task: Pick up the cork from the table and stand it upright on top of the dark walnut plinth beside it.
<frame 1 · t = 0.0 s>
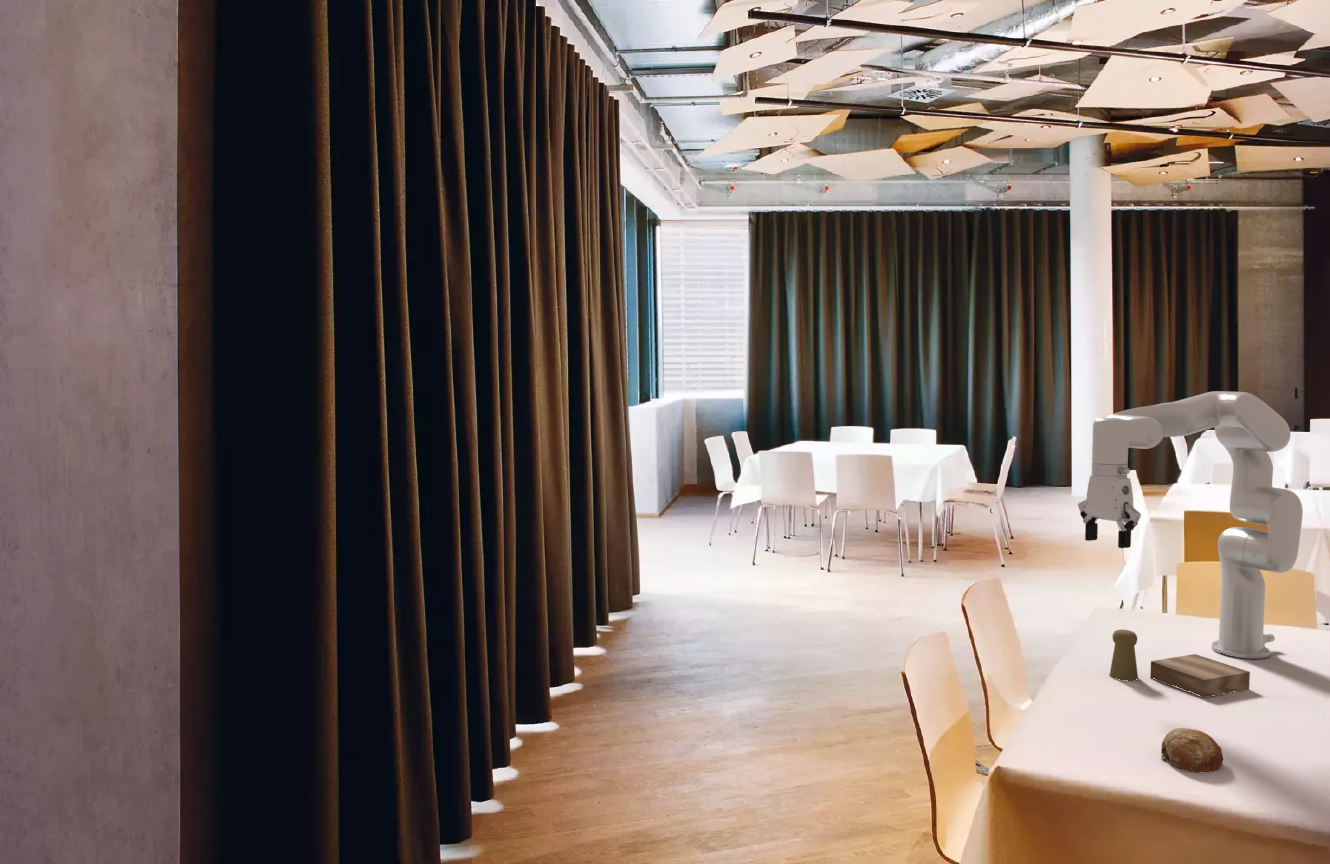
hand: (1107, 543, 222), 31 cm above the table, tool pointing down, fingers open, 9 cm apart
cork: (1123, 677, 223), on the table
bread roll: (1191, 763, 177), on the table
walnut plinth: (1198, 683, 218), on the table
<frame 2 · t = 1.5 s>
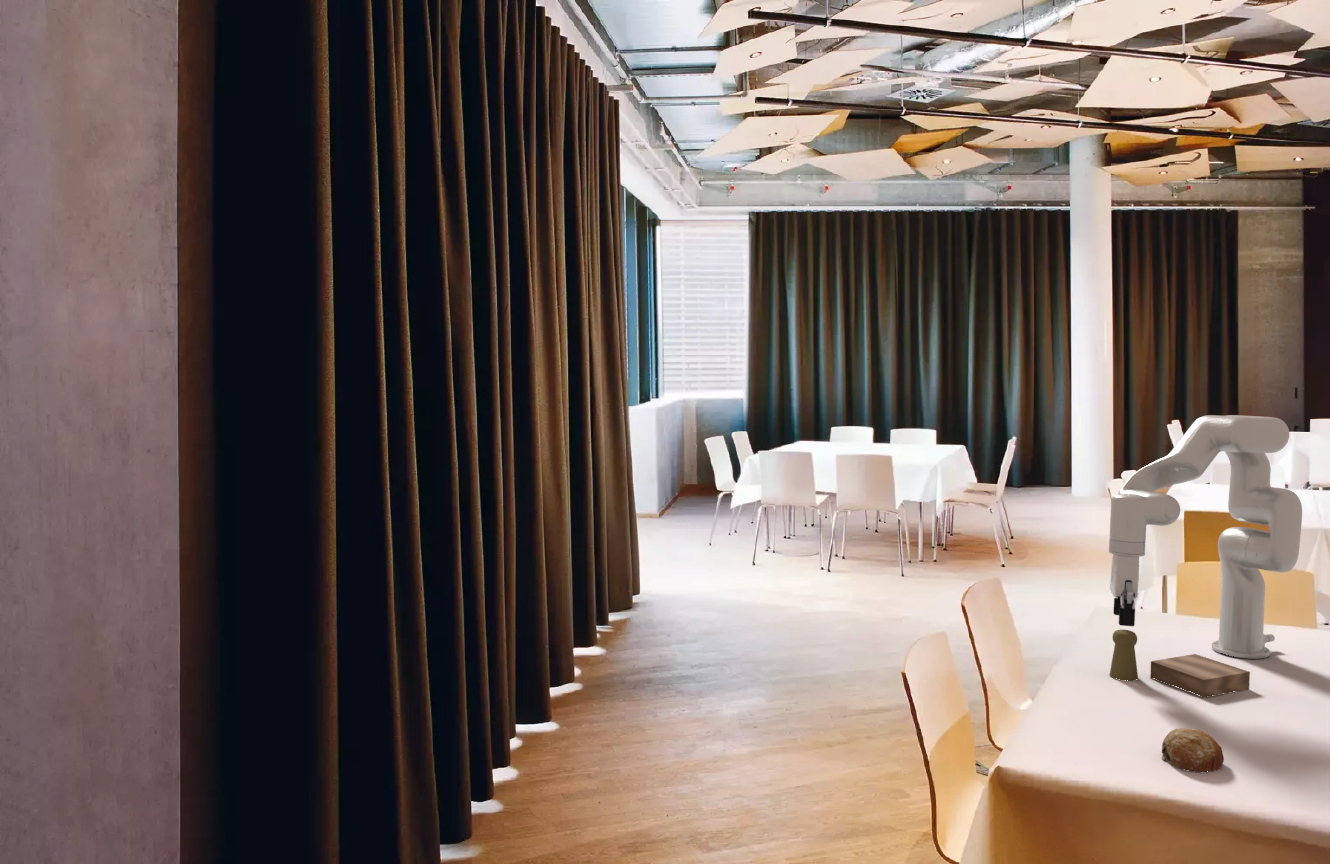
hand: (1123, 620, 222), 14 cm above the table, tool pointing down, fingers open, 9 cm apart
nothing on the table moved.
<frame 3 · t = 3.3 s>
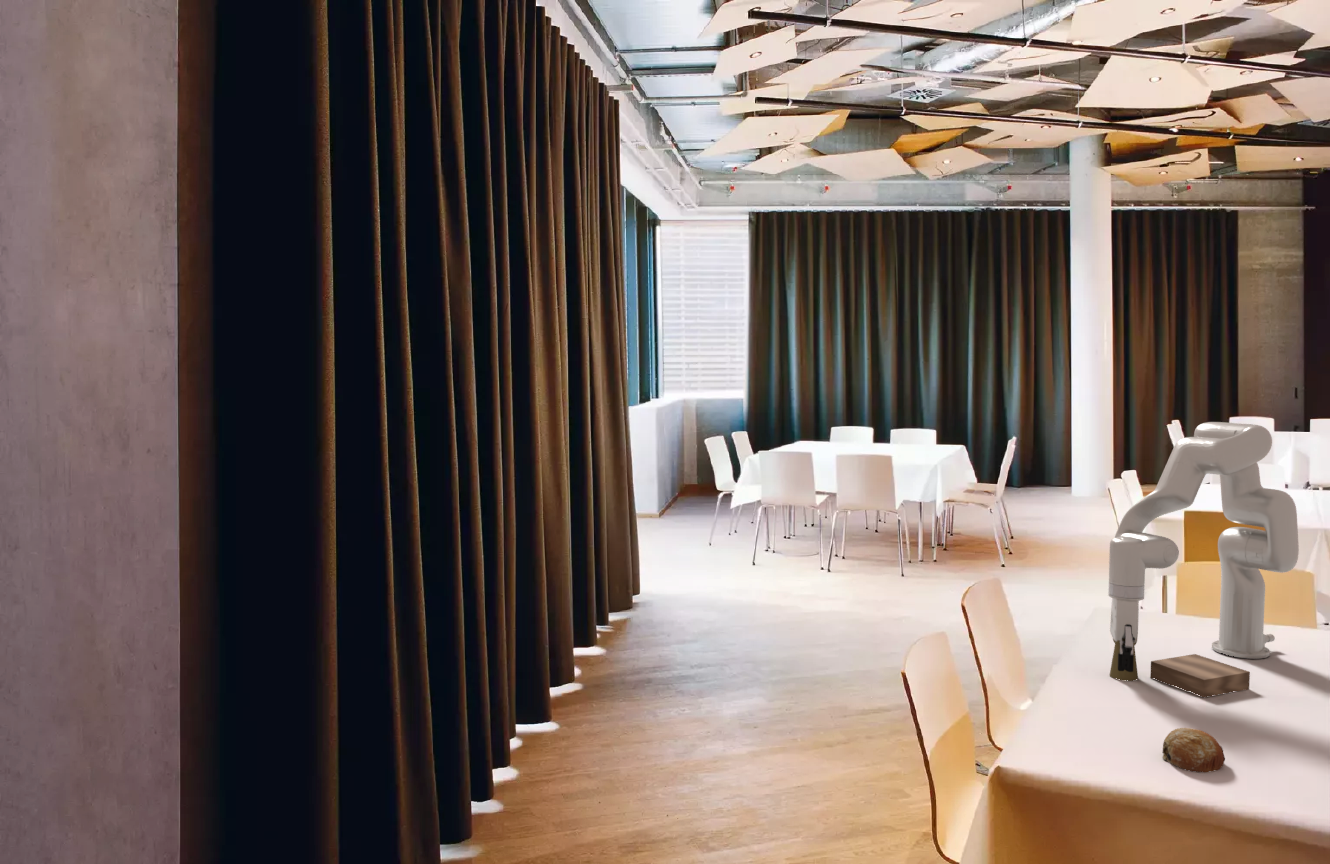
hand: (1124, 667, 223), 2 cm above the table, tool pointing down, fingers closed on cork, 4 cm apart
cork: (1123, 677, 223), on the table, touching gripper
everything else where it was.
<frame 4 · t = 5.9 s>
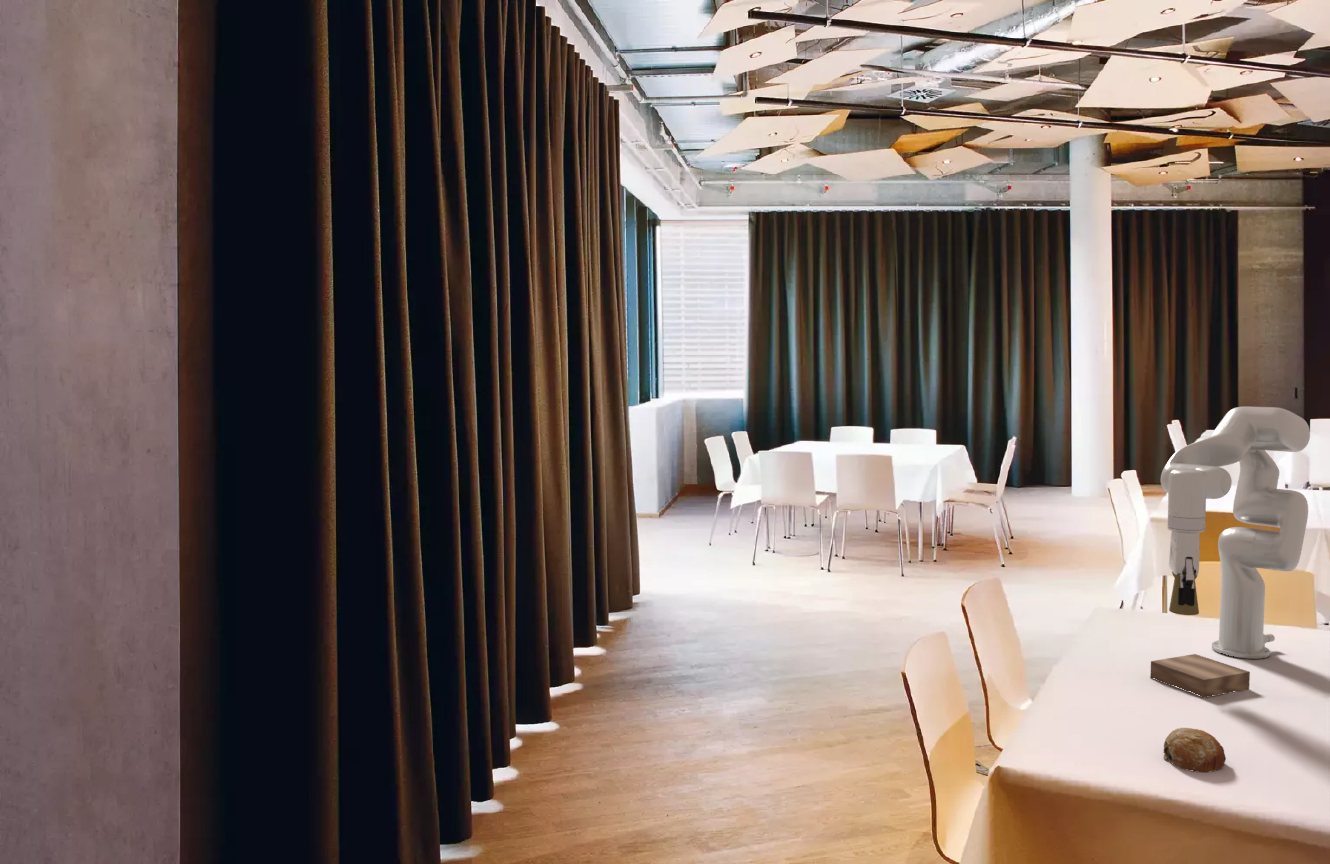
hand: (1184, 601, 218), 19 cm above the table, tool pointing down, fingers closed on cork, 4 cm apart
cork: (1183, 612, 218), point 16 cm above the table, touching gripper
everything else where it was.
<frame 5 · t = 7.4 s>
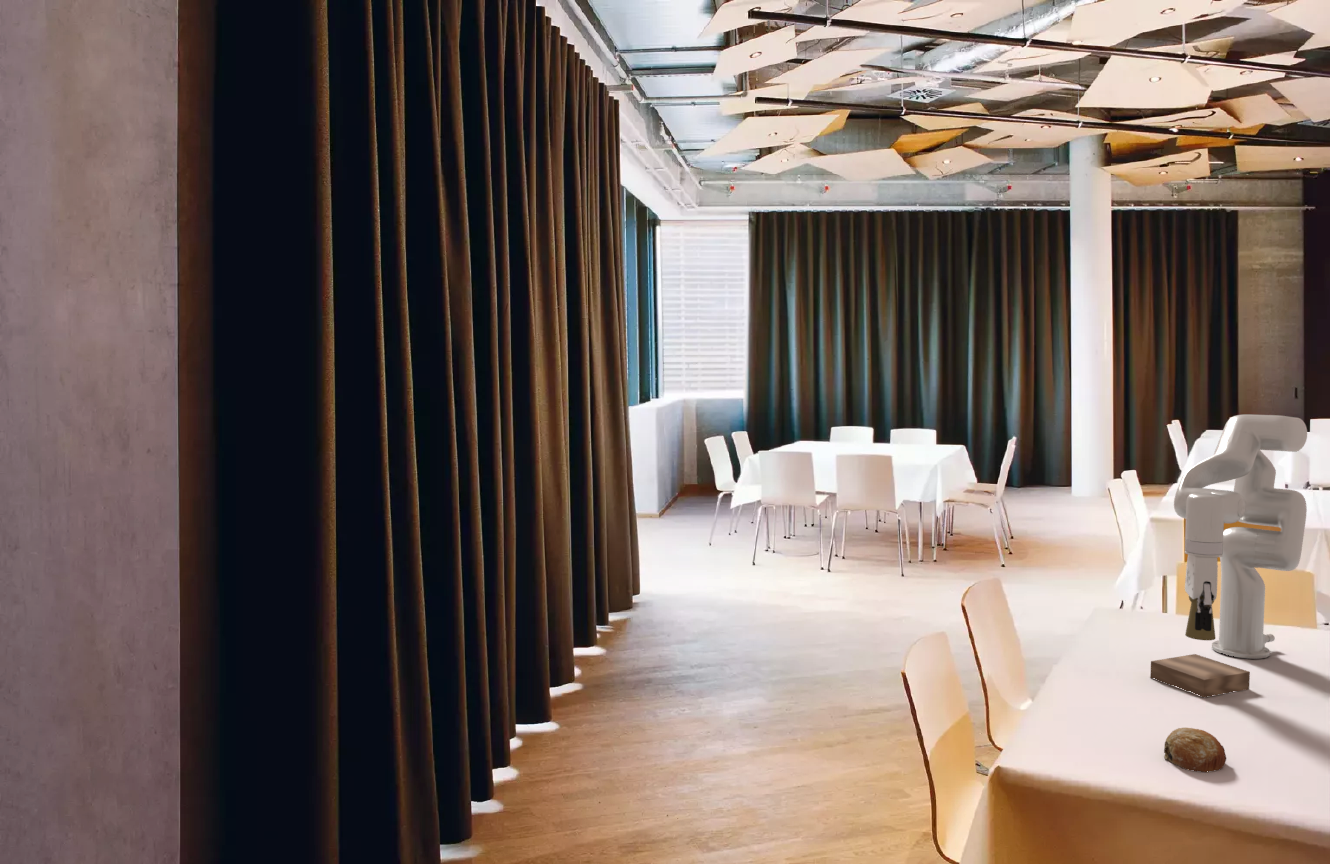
hand: (1200, 626, 217), 13 cm above the table, tool pointing down, fingers closed on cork, 4 cm apart
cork: (1200, 637, 217), point 11 cm above the table, touching gripper
everything else where it was.
when the fingers open (8 cm above the table, at t = 8.7 s): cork drops 1 cm, resting on walnut plinth.
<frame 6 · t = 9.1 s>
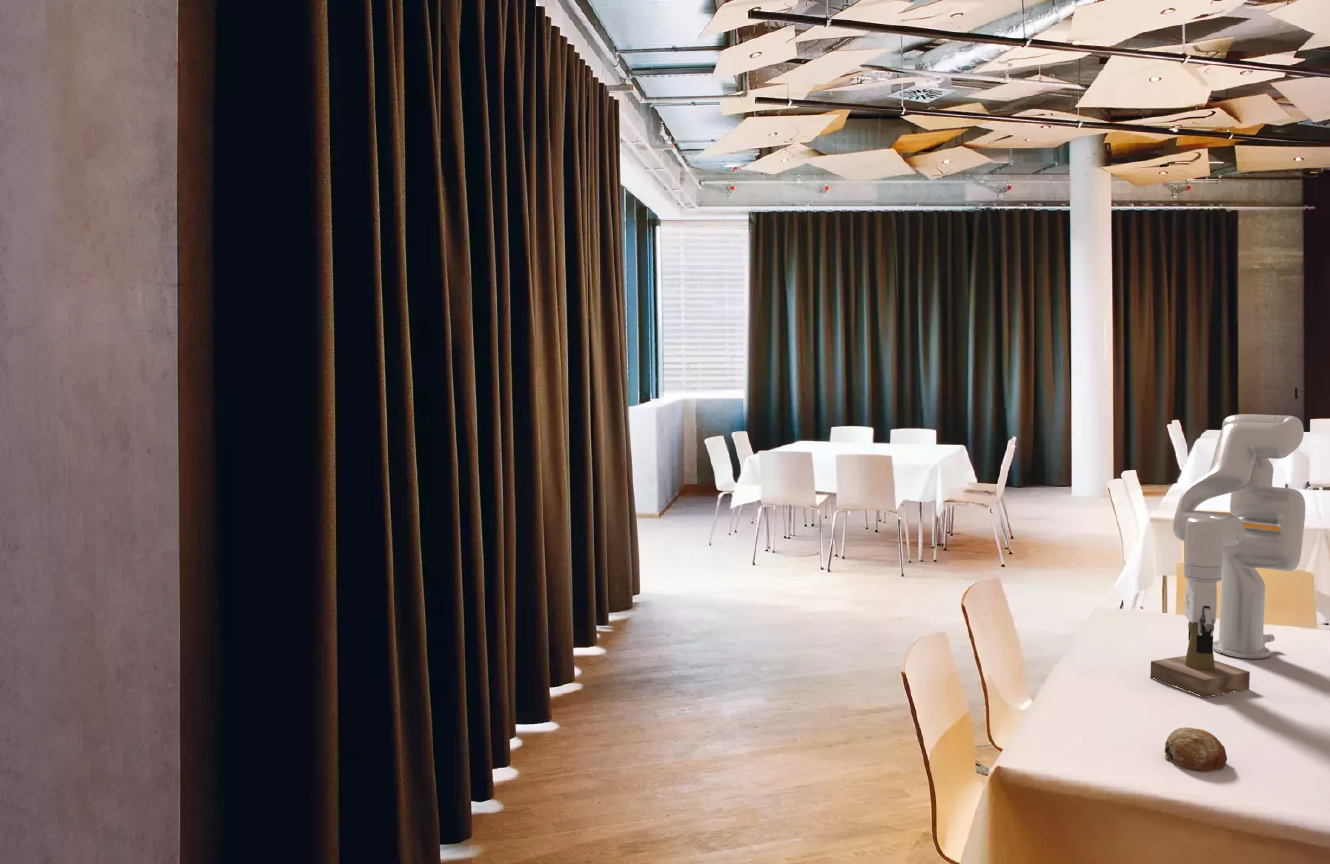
hand: (1200, 646, 218), 9 cm above the table, tool pointing down, fingers open, 8 cm apart
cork: (1199, 666, 218), point 4 cm above the table, touching walnut plinth
everything else where it was.
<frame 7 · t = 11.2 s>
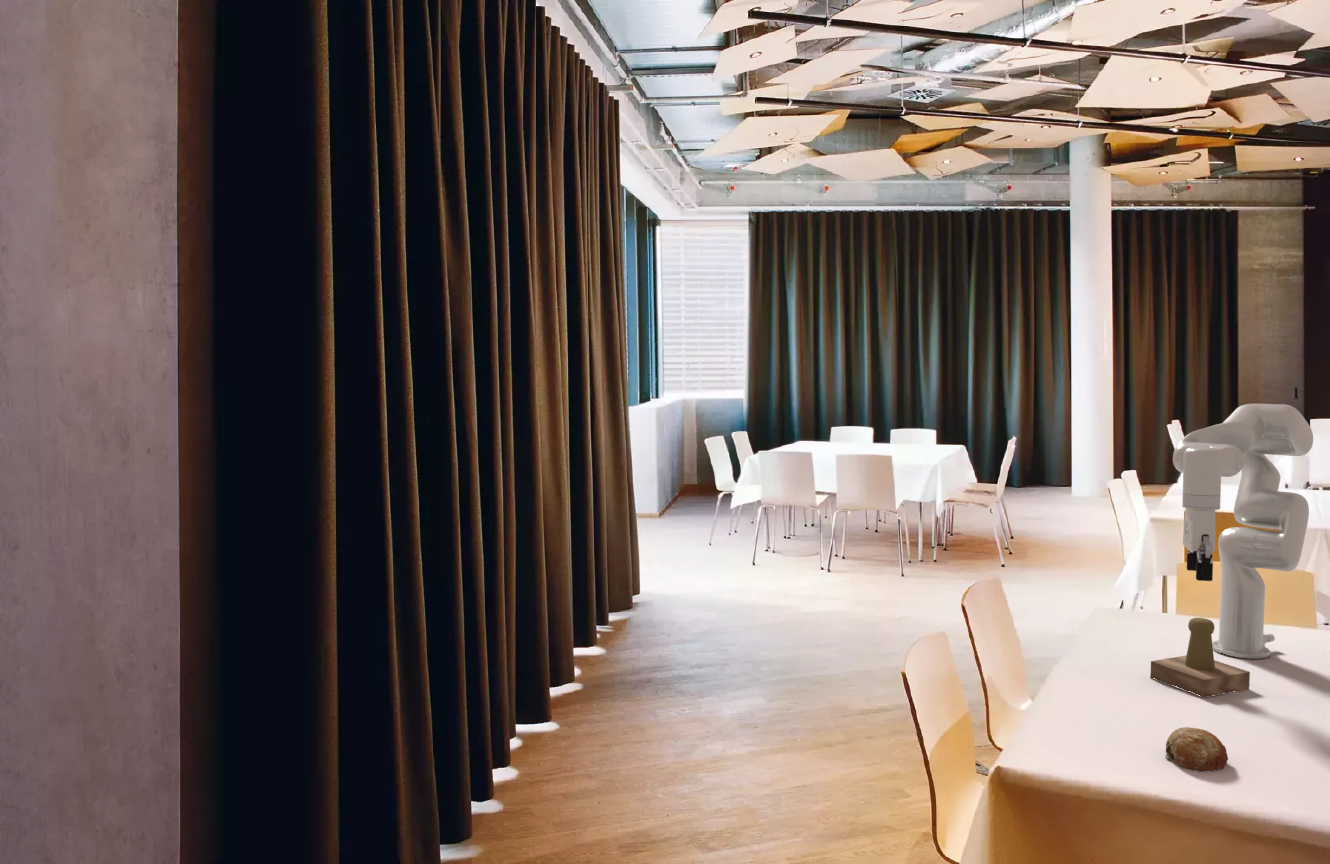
hand: (1199, 575, 218), 25 cm above the table, tool pointing down, fingers open, 9 cm apart
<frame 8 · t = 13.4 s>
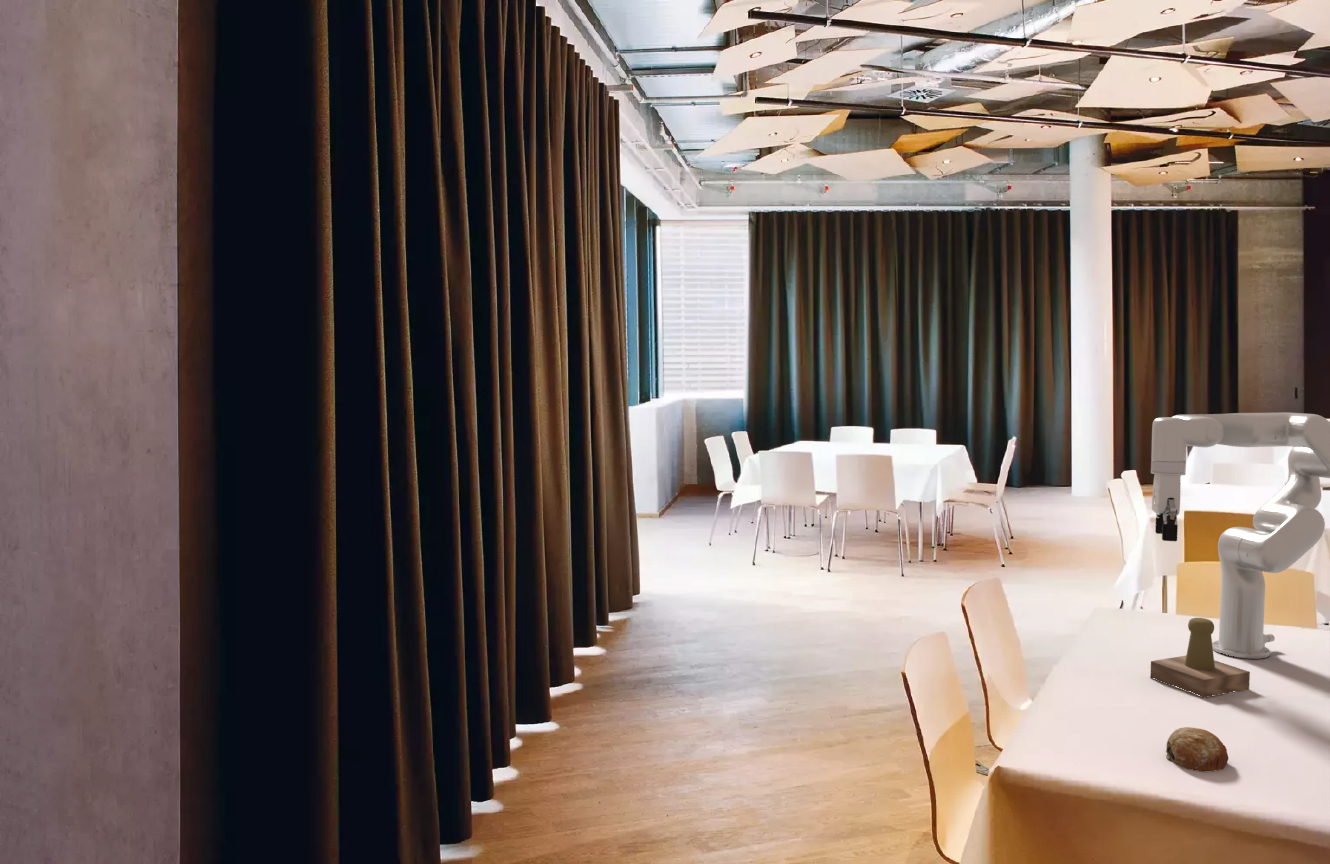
hand: (1165, 537, 235), 30 cm above the table, tool pointing down, fingers open, 9 cm apart
at the end: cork inside the target area on the walnut plinth (0.2 cm from its centre), point 3.8 cm above the walnut plinth's base; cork tilted 0°; the gripper is holding nothing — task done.
